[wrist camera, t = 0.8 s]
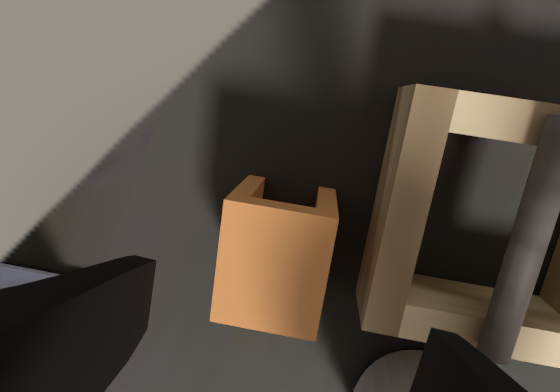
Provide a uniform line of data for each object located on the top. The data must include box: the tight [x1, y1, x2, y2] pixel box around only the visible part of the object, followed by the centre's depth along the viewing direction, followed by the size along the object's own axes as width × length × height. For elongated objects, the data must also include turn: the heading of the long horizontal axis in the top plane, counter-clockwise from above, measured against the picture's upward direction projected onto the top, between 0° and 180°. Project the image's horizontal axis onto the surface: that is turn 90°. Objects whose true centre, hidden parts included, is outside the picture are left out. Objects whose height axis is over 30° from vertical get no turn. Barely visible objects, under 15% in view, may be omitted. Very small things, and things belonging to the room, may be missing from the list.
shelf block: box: [355, 84, 560, 368], centre depth 16 cm, size 10×10×5 cm
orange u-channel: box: [210, 175, 339, 342], centre depth 17 cm, size 4×5×5 cm
